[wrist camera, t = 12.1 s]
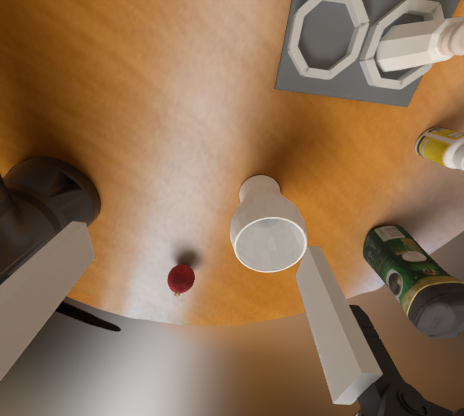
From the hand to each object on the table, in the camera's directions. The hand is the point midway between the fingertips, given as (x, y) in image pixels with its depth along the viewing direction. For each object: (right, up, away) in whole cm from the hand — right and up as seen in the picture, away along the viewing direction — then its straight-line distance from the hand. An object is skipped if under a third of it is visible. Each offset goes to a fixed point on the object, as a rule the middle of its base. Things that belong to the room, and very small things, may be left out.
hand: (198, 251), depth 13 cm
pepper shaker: (+24, +24, +16) cm, 37 cm away
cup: (+7, +5, +28) cm, 29 cm away
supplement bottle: (+35, +14, +23) cm, 44 cm away
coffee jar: (+34, -4, +34) cm, 48 cm away
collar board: (+19, +25, +16) cm, 35 cm away
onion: (-9, -11, +38) cm, 41 cm away
